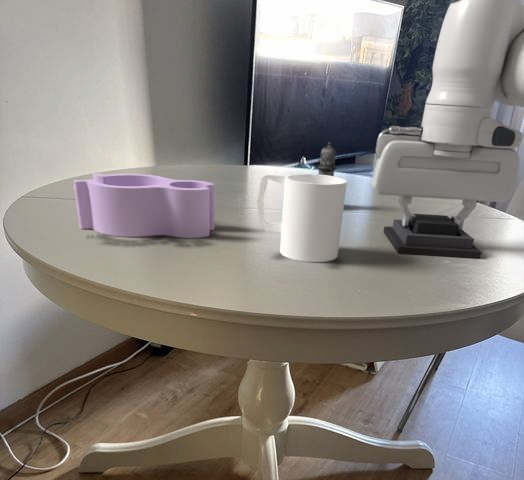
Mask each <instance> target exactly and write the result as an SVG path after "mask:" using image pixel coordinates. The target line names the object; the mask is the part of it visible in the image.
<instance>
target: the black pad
mask: <svg viewBox="0 0 524 480" xmlns="http://www.w3.org/2000/svg"><path fill="white" fill-rule="evenodd" d="M413 214H414V215H415V216H416V219H415V221H414V226H413V227H408V228H409V229H410V231H411V232H412V233H413V234H429V235H446V236H456V234H457V230H458V226H459V225H458V224H457V223H456V222H454V221H453V220H452V219H451V217H450V216H448V215H445V214H442V215H441V214H427V213H413Z"/></svg>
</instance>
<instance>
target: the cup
mask: <svg viewBox="0 0 524 480" xmlns="http://www.w3.org/2000/svg"><path fill="white" fill-rule="evenodd" d="M269 180H270V181H274V182H275V183H278V184H280V185H283V197H282V198H283V199H282V200H283V202H282V213H281V214H282V216H281V222H280V221H279V222H268V223H267V219H266V218H267V217H266V211H265V204H264V200H265V195H266V190H267V186H268V183H269ZM347 185H348V180H347V179H345V178H342V177H338V176H335V175H334V176H328V175H318V174H317V173H293V174H288V175H283V174H271V173H268V174H266V175H264V176H262V177H261V180H260V185H259V190H258V195H257V199H256V203H257V212H258V218H259V224H260V225H261V227H262V228H263V230H264V231H268V232H276V233H280V244H279V253H280V254H281V255H282V256H283V257H285V258H287V259H290V260H294V261H299V262H306V263H325V262H330V261H334V260H335V259H337V258H338V255H339V247H340V240H341V232H342V224H343V217H344V216H343V215H344V208H345V199H346V193H347Z"/></svg>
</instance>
